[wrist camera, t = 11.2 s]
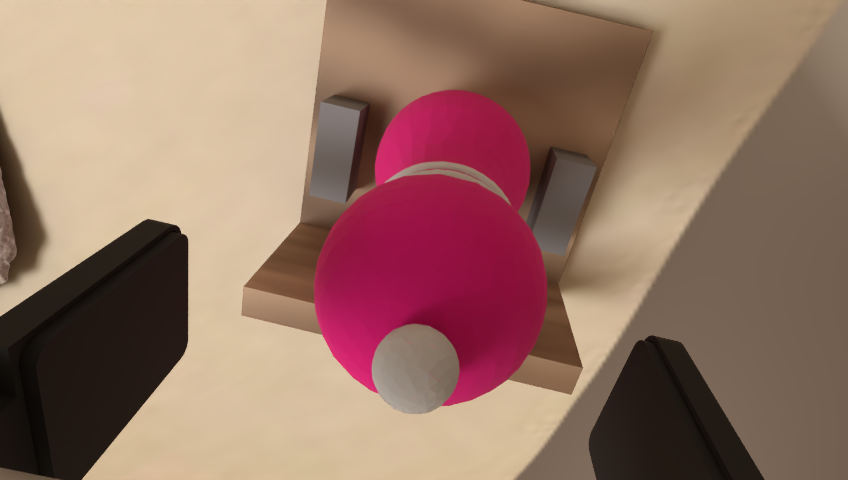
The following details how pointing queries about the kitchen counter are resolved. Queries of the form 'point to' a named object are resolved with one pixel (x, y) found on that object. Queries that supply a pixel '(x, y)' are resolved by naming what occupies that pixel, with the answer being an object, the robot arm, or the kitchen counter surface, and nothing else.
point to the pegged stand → (475, 72)
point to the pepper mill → (436, 259)
